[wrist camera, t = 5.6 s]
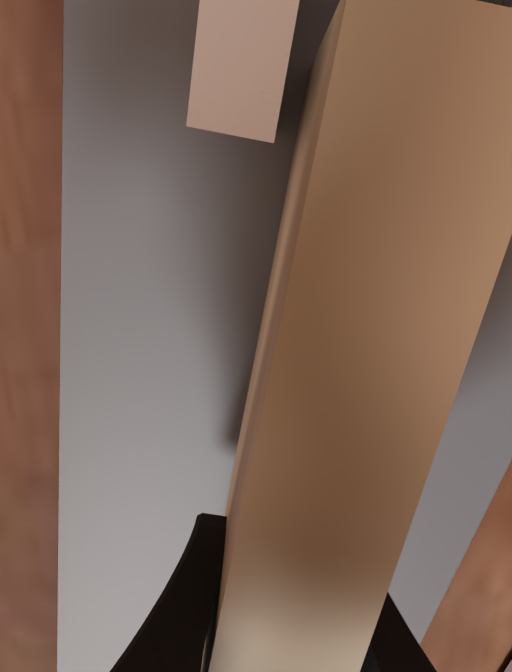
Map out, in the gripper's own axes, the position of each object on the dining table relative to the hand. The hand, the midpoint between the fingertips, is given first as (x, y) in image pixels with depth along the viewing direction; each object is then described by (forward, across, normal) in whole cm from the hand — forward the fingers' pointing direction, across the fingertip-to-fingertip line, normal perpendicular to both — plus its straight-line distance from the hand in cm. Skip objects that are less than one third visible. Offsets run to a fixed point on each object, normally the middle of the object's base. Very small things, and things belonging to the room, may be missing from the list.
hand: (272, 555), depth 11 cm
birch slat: (+2, 0, -3) cm, 4 cm away
